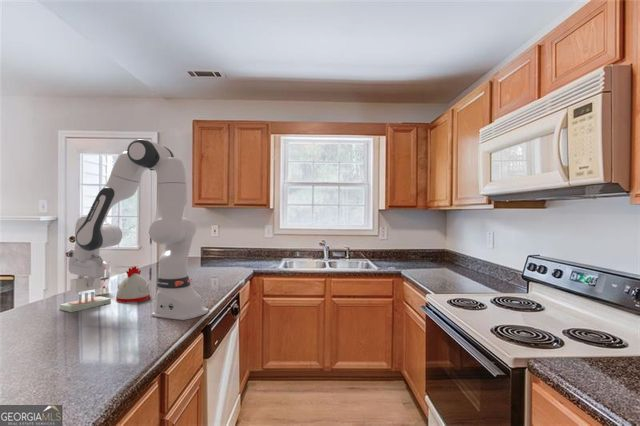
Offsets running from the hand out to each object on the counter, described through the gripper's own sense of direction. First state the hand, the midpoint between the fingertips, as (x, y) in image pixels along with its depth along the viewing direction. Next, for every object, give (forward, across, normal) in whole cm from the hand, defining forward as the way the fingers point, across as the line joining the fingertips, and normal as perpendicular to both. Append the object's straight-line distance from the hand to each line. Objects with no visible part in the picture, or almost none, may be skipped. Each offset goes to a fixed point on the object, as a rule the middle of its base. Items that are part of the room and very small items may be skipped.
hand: (86, 286), depth 144 cm
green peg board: (+8, 0, 0) cm, 9 cm away
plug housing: (+2, 0, -2) cm, 3 cm away
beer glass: (+9, +16, -16) cm, 24 cm away
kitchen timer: (+9, -5, -18) cm, 21 cm away
